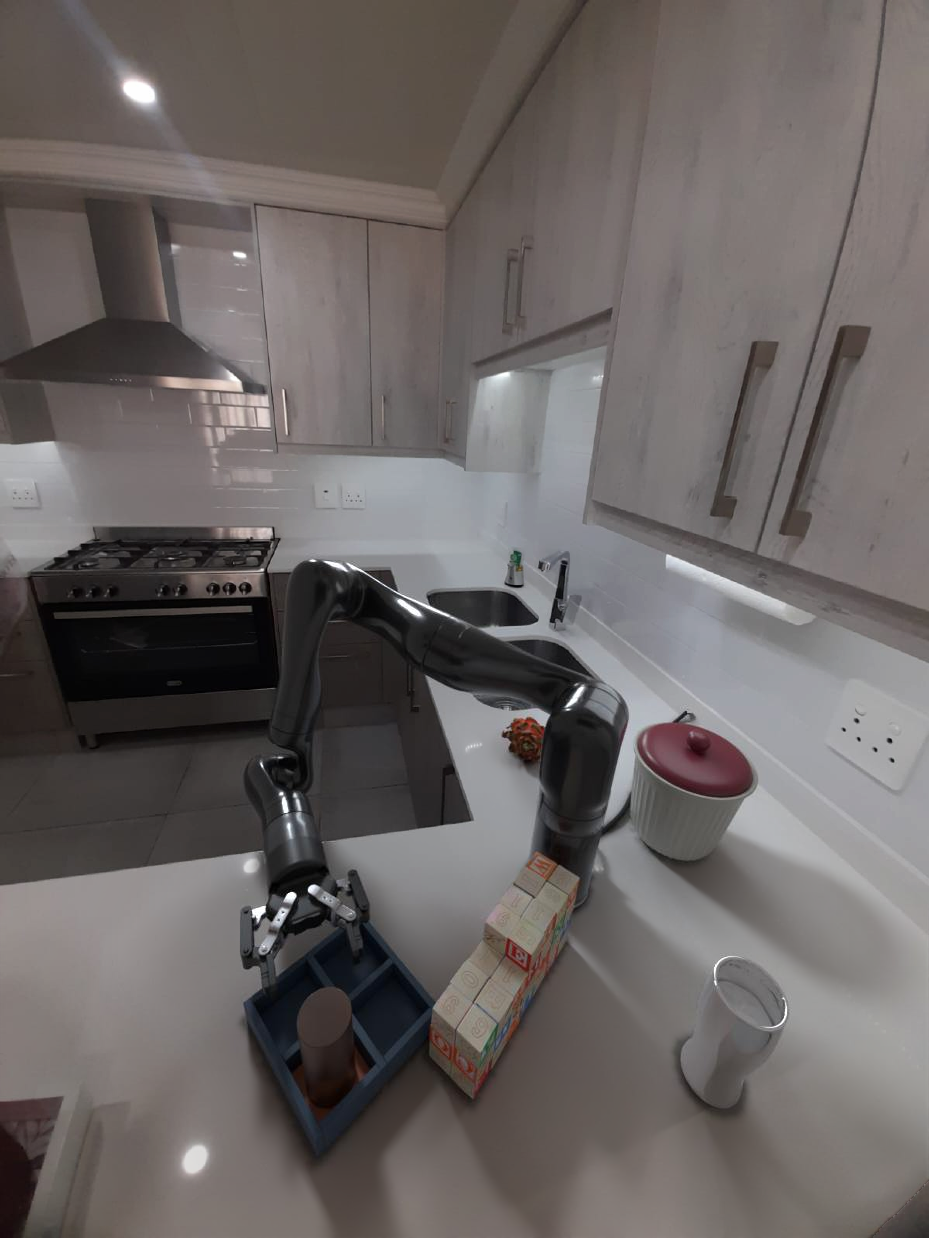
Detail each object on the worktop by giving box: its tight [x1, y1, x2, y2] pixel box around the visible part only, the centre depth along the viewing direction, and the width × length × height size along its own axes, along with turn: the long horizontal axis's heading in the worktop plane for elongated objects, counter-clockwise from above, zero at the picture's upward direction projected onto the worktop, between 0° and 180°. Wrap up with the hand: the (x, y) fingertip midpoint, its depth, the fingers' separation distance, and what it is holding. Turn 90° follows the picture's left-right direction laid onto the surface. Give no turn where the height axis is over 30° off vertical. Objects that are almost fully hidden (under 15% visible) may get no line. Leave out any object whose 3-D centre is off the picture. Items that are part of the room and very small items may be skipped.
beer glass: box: [679, 955, 790, 1110], centre depth 50 cm, size 7×7×15 cm
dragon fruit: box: [501, 716, 545, 763], centre depth 99 cm, size 8×8×12 cm
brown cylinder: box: [297, 987, 356, 1108], centre depth 48 cm, size 5×5×11 cm
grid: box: [242, 921, 437, 1159], centre depth 55 cm, size 15×15×4 cm
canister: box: [630, 721, 759, 862], centre depth 79 cm, size 18×18×21 cm
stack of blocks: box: [428, 852, 580, 1100], centre depth 57 cm, size 21×6×12 cm, turn 143°
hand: (317, 976), depth 52 cm, fingers open, 8 cm apart
